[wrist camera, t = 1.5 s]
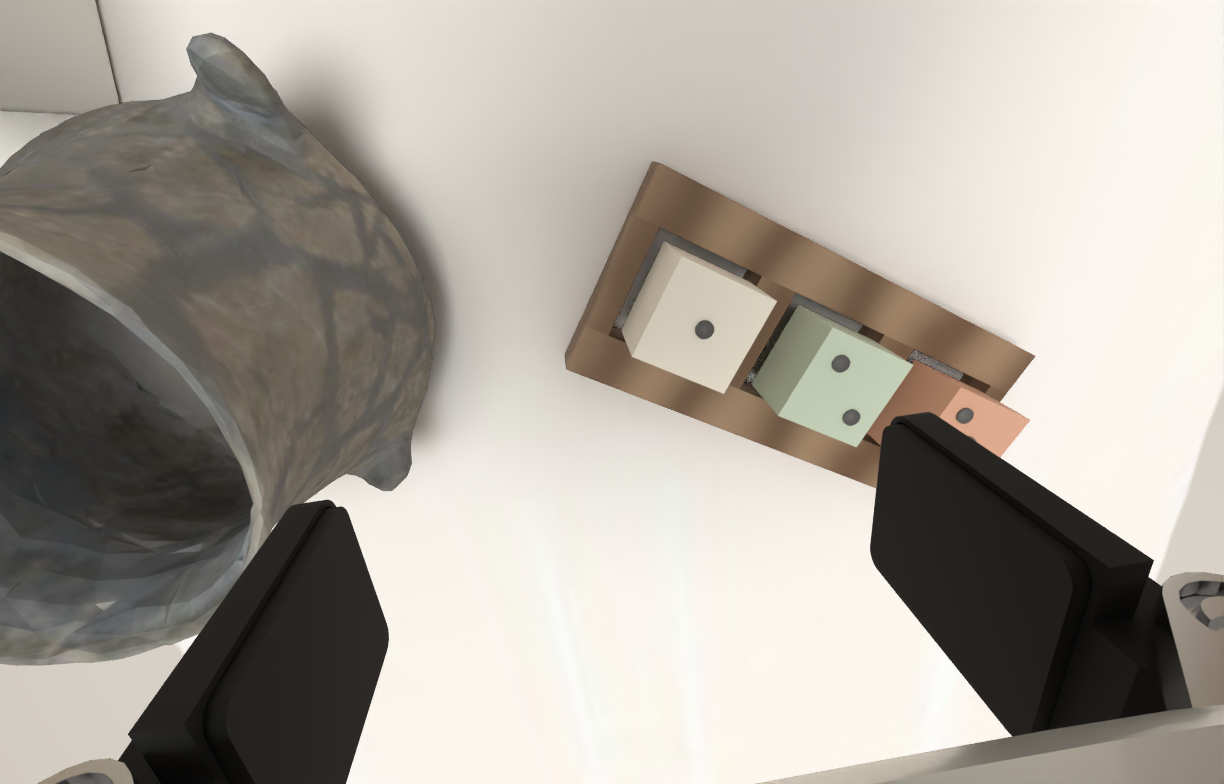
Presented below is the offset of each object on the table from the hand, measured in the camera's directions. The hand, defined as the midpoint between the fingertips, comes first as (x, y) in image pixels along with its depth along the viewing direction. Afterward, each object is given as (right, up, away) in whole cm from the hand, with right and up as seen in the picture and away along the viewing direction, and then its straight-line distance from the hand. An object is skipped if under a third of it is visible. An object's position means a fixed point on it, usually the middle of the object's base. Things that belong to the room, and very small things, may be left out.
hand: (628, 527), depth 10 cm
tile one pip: (+4, +8, +24) cm, 26 cm away
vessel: (-20, +8, +24) cm, 32 cm away
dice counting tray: (+12, +5, +29) cm, 32 cm away
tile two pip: (+13, +4, +27) cm, 30 cm away
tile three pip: (+21, +1, +29) cm, 36 cm away
